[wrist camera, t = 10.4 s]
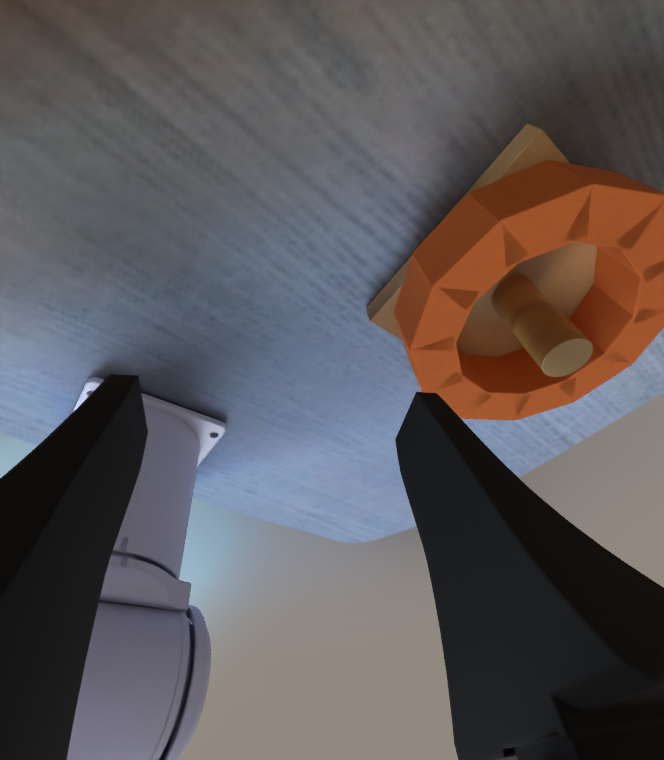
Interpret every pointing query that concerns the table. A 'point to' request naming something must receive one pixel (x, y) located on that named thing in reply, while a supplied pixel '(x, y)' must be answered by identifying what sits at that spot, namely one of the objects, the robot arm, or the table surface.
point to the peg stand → (520, 286)
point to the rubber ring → (519, 243)
